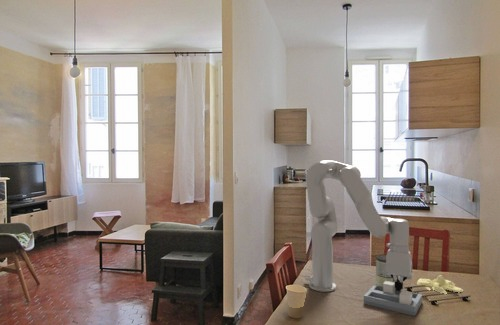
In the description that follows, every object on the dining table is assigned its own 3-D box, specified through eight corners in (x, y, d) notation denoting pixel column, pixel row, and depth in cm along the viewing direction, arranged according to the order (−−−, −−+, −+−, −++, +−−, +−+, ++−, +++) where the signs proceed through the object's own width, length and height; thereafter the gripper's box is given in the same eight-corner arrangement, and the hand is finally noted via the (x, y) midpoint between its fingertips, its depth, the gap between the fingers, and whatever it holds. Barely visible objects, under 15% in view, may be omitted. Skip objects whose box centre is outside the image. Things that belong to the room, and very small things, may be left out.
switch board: (363, 303, 152) (363, 295, 152) (374, 292, 164) (374, 284, 164) (414, 316, 141) (414, 307, 141) (422, 302, 153) (422, 294, 153)
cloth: (410, 280, 181) (410, 268, 181) (447, 280, 181) (447, 268, 181) (432, 298, 159) (432, 285, 158) (474, 298, 159) (474, 284, 158)
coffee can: (375, 281, 178) (375, 253, 177) (398, 284, 174) (398, 255, 174) (375, 289, 168) (375, 259, 168) (399, 291, 165) (399, 261, 164)
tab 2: (399, 306, 145) (399, 294, 145) (401, 303, 148) (401, 291, 148) (410, 309, 143) (410, 296, 143) (412, 305, 146) (412, 293, 146)
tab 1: (383, 294, 157) (383, 283, 157) (385, 291, 160) (385, 280, 160) (392, 296, 155) (392, 285, 155) (395, 293, 158) (395, 282, 158)
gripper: (378, 247, 156) (378, 289, 156) (416, 252, 147) (415, 297, 148) (383, 243, 162) (383, 284, 162) (419, 248, 153) (419, 291, 154)
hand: (398, 290), depth 155 cm, fingers closed
